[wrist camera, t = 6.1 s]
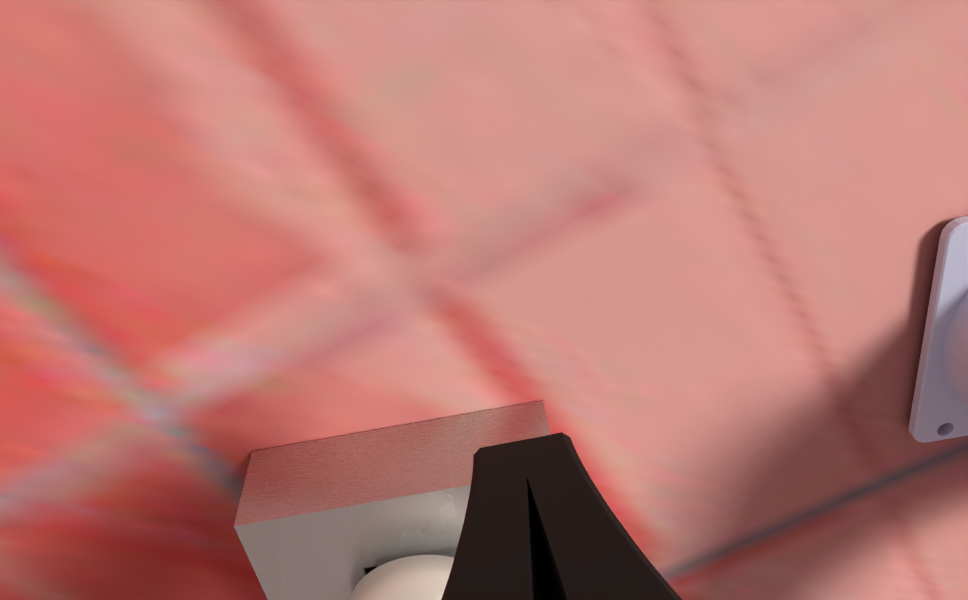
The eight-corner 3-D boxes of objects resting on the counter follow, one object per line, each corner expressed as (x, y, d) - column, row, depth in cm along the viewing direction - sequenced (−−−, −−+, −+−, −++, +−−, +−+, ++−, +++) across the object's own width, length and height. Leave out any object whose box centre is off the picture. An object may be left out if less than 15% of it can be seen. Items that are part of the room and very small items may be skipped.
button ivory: (480, 486, 24) (491, 587, 21) (501, 581, 26) (514, 685, 23) (337, 511, 24) (327, 615, 21) (371, 603, 26) (366, 710, 23)
